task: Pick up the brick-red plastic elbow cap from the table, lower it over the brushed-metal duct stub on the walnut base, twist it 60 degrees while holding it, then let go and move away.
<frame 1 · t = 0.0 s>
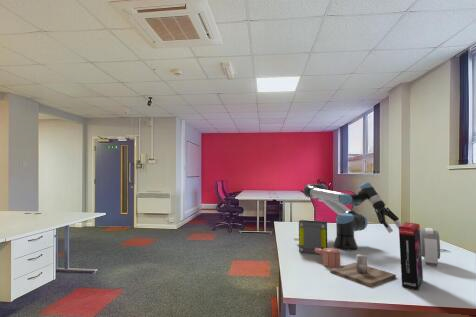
hand: (396, 230, 173), 15 cm above the table, tool tilted 35°, fingers open, 13 cm apart
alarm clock: (430, 263, 155), on the table
elbow cap: (331, 264, 152), on the table
electrical component: (313, 252, 177), on the table
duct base: (362, 274, 136), on the table
graphics card box: (412, 283, 125), on the table
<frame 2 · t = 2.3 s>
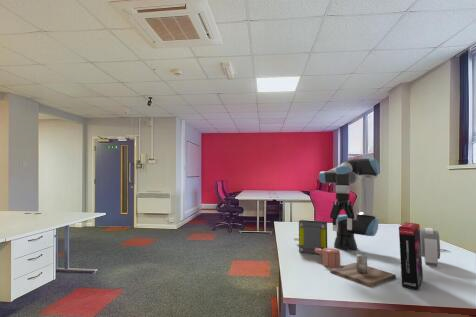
hand: (342, 230, 152), 20 cm above the table, tool pointing down, fingers open, 13 cm apart
nothing on the table moved.
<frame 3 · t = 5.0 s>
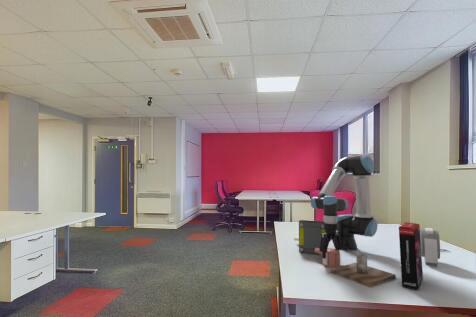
hand: (331, 262, 152), 1 cm above the table, tool pointing down, fingers closed on elbow cap, 9 cm apart
elbow cap: (331, 264, 152), on the table, touching gripper
everything else where it was.
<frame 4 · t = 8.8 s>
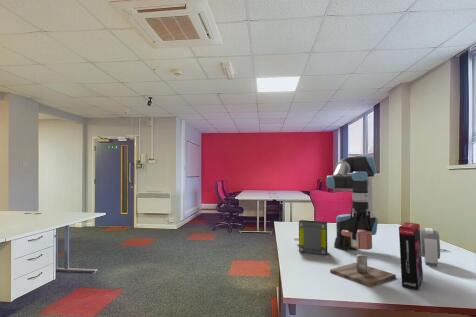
hand: (361, 245, 137), 15 cm above the table, tool pointing down, fingers closed on elbow cap, 9 cm apart
elbow cap: (361, 247, 137), point 14 cm above the table, touching gripper
everything else where it was.
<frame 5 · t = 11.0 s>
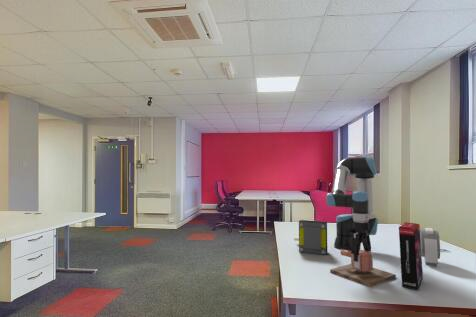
hand: (361, 265, 136), 5 cm above the table, tool pointing down, fingers closed on elbow cap, 9 cm apart
elbow cap: (361, 267, 136), point 3 cm above the table, touching gripper
everything else where it was.
when the fingers open (5 cm above the table, at t = 12.6 s): elbow cap stays where it is, resting on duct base.
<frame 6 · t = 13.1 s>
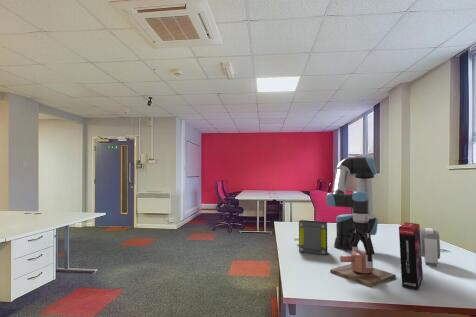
hand: (361, 263, 136), 6 cm above the table, tool pointing down, fingers open, 13 cm apart
elbow cap: (362, 269, 136), point 3 cm above the table, touching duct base
everything else where it was.
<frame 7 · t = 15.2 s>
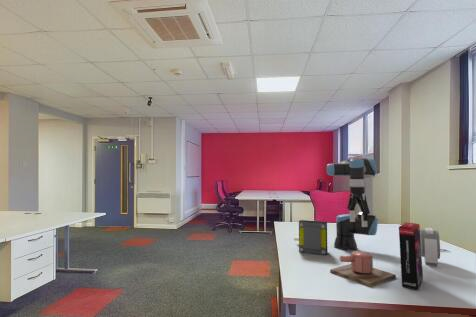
hand: (358, 224, 150), 23 cm above the table, tool pointing down, fingers open, 13 cm apart
nothing on the table moved.
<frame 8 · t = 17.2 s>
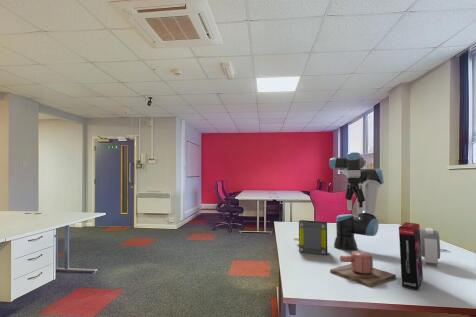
hand: (354, 211, 165), 29 cm above the table, tool pointing down, fingers open, 13 cm apart
nothing on the table moved.
at the end: elbow cap 0.0 cm off-centre on the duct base, point 2.5 cm above the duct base's base; elbow cap tilted 0°; the gripper is holding nothing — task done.
